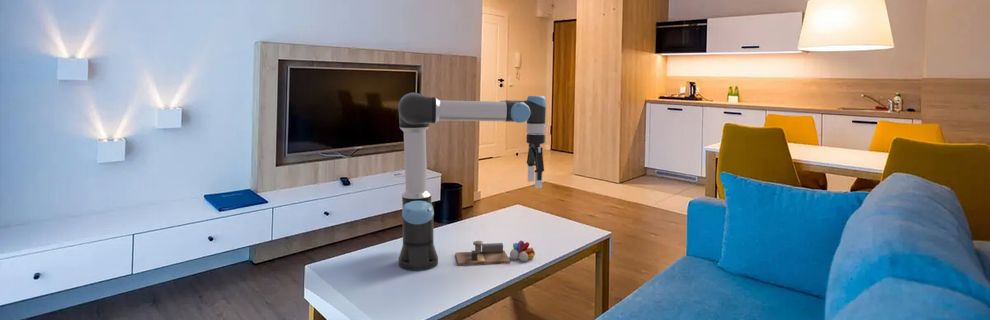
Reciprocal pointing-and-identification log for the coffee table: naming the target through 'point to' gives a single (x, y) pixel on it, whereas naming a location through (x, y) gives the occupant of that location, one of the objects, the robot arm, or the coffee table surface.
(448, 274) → the coffee table surface
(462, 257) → the board
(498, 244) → the bar
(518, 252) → the multicolored petal toy
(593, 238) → the coffee table surface
